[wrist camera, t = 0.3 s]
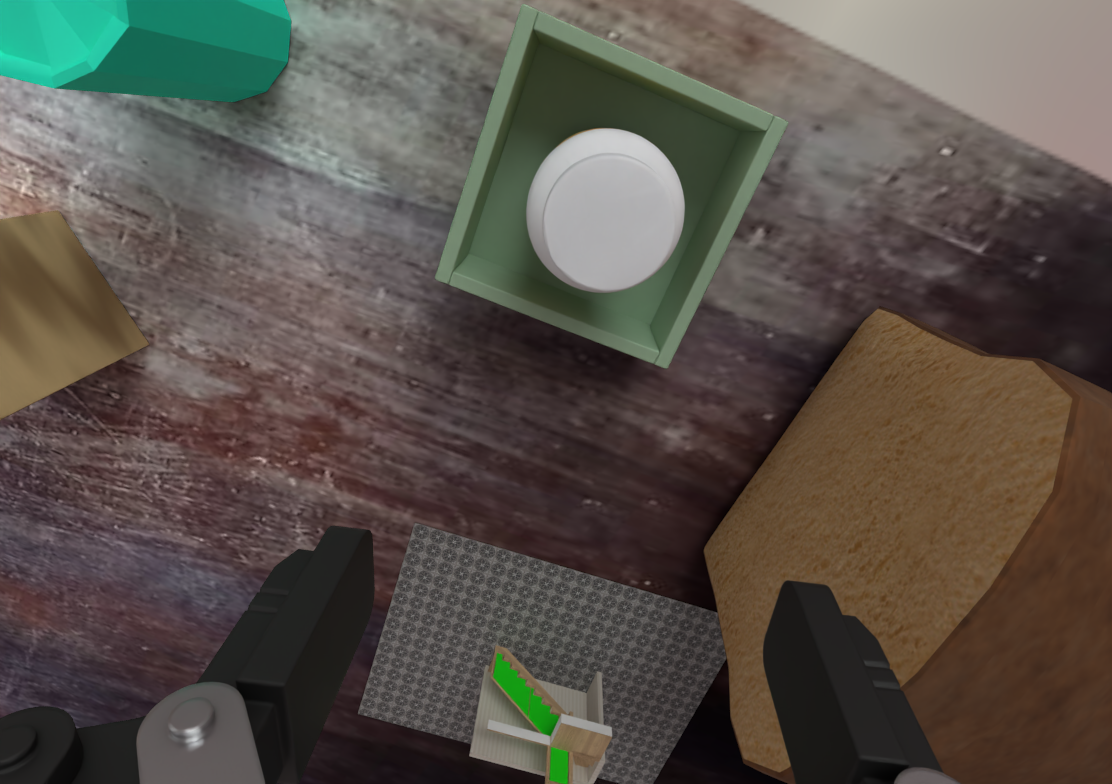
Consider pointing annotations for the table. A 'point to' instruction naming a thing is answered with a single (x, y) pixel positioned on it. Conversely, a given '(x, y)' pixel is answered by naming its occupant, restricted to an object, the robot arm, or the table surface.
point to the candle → (147, 46)
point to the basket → (586, 103)
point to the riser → (54, 312)
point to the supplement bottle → (605, 210)
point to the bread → (940, 550)
